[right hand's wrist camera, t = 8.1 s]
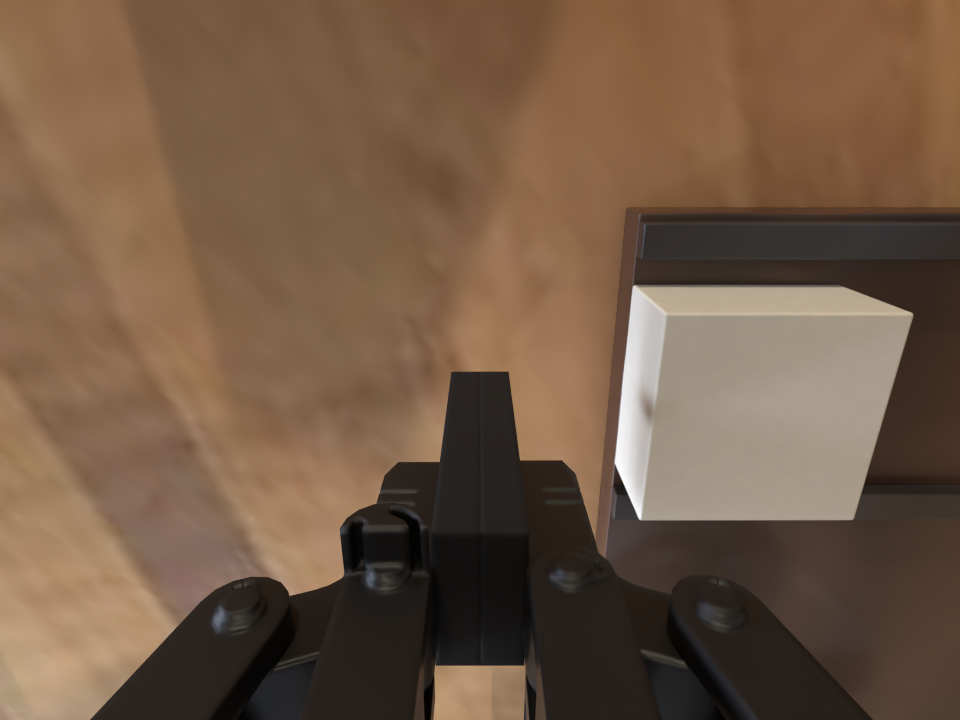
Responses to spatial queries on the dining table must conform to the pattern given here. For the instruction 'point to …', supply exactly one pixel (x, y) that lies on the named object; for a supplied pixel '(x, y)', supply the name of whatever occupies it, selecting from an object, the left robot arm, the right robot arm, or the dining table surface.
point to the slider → (754, 399)
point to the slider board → (893, 468)
